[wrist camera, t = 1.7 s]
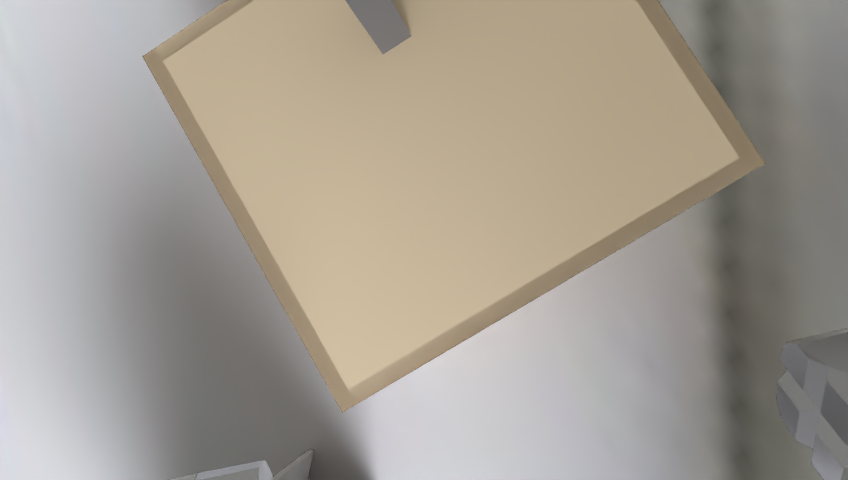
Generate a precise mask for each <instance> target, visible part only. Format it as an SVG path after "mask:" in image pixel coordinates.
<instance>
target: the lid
mask: <svg viewBox="0 0 848 480" xmlns="http://www.w3.org/2000/svg"><path fill="white" fill-rule="evenodd" d="M142 57H143V58H144V60H145V62H146V64H147V65H148V67H149V69H150V71H151V73H152V74H153V76H154V78H155V80H156V82H157V83H158V85H159V87H160V89H161V90H162V92H163V94H164V96H165V98H166V99H167V101H168V103H169V105H170V106H171V108H172V110H173V112H174V114H175V115H176V117H177V119H178V121H179V123H180V124H181V126H182V128H183V130H184V131H185V133H186V135H187V137H188V139H189V140H190V142H191V144H192V146H193V147H194V149H195V151H196V153H197V155H198V156H199V158H200V160H201V162H202V164H203V165H204V167H205V169H206V171H207V172H208V174H209V176H210V178H211V180H212V181H213V183H214V185H215V187H216V188H217V190H218V192H219V194H220V196H221V197H222V199H223V201H224V203H225V205H226V206H227V208H228V210H229V212H230V213H231V215H232V217H233V219H234V221H235V222H236V224H237V226H238V228H239V229H240V231H241V233H242V235H243V237H244V238H245V240H246V242H247V244H248V246H249V247H250V249H251V251H252V253H253V254H254V256H255V258H256V260H257V262H258V263H259V265H260V267H261V269H262V270H263V272H264V274H265V276H266V278H267V279H268V281H269V283H270V285H271V287H272V288H273V290H274V292H275V294H276V295H277V297H278V299H279V301H280V303H281V304H282V306H283V308H284V310H285V311H286V313H287V315H288V317H289V319H290V320H291V322H292V324H293V326H294V328H295V329H296V331H297V333H298V335H299V336H300V338H301V340H302V342H303V344H304V345H305V347H306V349H307V351H308V352H309V354H310V356H311V358H312V360H313V361H314V363H315V365H316V367H317V369H318V370H319V372H320V374H321V376H322V377H323V379H324V381H325V383H326V385H327V386H328V388H329V390H330V392H331V393H332V395H333V397H334V399H335V401H336V402H337V404H338V406H339V408H340V410H341V411H342V413H343V412H344V411H346V410H348V409H349V408H351V407H353V406H354V405H356V404H358V403H360V402H361V401H363V400H365V399H366V398H368V397H370V396H371V395H373V394H375V393H377V392H378V391H380V390H382V389H383V388H385V387H387V386H388V385H390V384H392V383H393V382H395V381H397V380H399V379H400V378H402V377H404V376H405V375H407V374H409V373H410V372H412V371H414V370H416V369H417V368H419V367H421V366H422V365H424V364H426V363H427V362H429V361H431V360H433V359H434V358H436V357H438V356H439V355H441V354H443V353H444V352H446V351H448V350H450V349H451V348H453V347H455V346H456V345H458V344H460V343H461V342H463V341H465V340H467V339H468V338H470V337H472V336H473V335H475V334H477V333H478V332H480V331H482V330H484V329H485V328H487V327H489V326H490V325H492V324H494V323H495V322H497V321H499V320H501V319H502V318H504V317H506V316H507V315H509V314H511V313H512V312H514V311H516V310H517V309H519V308H521V307H523V306H524V305H526V304H528V303H529V302H531V301H533V300H534V299H536V298H538V297H540V296H541V295H543V294H545V293H546V292H548V291H550V290H551V289H553V288H555V287H557V286H558V285H560V284H562V283H563V282H565V281H567V280H568V279H570V278H572V277H574V276H575V275H577V274H579V273H580V272H582V271H584V270H585V269H587V268H589V267H591V266H592V265H594V264H596V263H597V262H599V261H601V260H602V259H604V258H606V257H608V256H609V255H611V254H613V253H614V252H616V251H618V250H619V249H621V248H623V247H625V246H626V245H628V244H630V243H631V242H633V241H635V240H636V239H638V238H640V237H641V236H643V235H645V234H647V233H648V232H650V231H652V230H653V229H655V228H657V227H658V226H660V225H662V224H664V223H665V222H667V221H669V220H670V219H672V218H674V217H675V216H677V215H679V214H681V213H682V212H684V211H686V210H687V209H689V208H691V207H692V206H694V205H696V204H698V203H699V202H701V201H703V200H704V199H706V198H708V197H709V196H711V195H713V194H715V193H716V192H718V191H720V190H721V189H723V188H725V187H726V186H728V185H730V184H732V183H733V182H735V181H737V180H738V179H740V178H742V177H743V176H745V175H747V174H749V173H750V172H752V171H754V170H755V169H757V168H759V167H760V166H762V165H764V164H765V162H764V160H763V159H762V157H761V156H760V154H759V153H758V151H757V150H756V148H755V147H754V145H753V143H752V142H751V140H750V139H749V137H748V136H747V134H746V133H745V131H744V130H743V128H742V127H741V125H740V124H739V122H738V121H737V119H736V118H735V116H734V115H733V113H732V112H731V110H730V109H729V107H728V106H727V104H726V103H725V101H724V100H723V98H722V97H721V95H720V94H719V92H718V91H717V89H716V88H715V86H714V84H713V83H712V81H711V80H710V78H709V77H708V75H707V74H706V72H705V71H704V69H703V68H702V66H701V65H700V63H699V62H698V60H697V59H696V57H695V56H694V54H693V53H692V51H691V50H690V48H689V47H688V45H687V44H686V42H685V41H684V39H683V38H682V36H681V35H680V33H679V32H678V30H677V28H676V27H675V25H674V24H673V22H672V21H671V19H670V18H669V16H668V15H667V13H666V12H665V10H664V9H663V7H662V6H661V4H660V3H659V1H658V0H226V1H225V2H223V3H222V4H220V5H219V6H217V7H216V8H214V9H213V10H211V11H210V12H208V13H207V14H205V15H204V16H202V17H201V18H199V19H198V20H196V21H195V22H193V23H192V24H190V25H189V26H187V27H186V28H184V29H183V30H181V31H180V32H178V33H177V34H175V35H174V36H172V37H171V38H169V39H168V40H166V41H165V42H163V43H162V44H160V45H159V46H157V47H156V48H154V49H153V50H151V51H150V52H148V53H147V54H145V55H144V56H142Z"/></svg>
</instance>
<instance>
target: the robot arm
mask: <svg viewBox="0 0 848 480" xmlns="http://www.w3.org/2000/svg"><path fill="white" fill-rule="evenodd" d="M780 361H781V362H782V364H783V365H784V366H785V367H786V369H787V371H786V372H785V374H784V375H783V376H782V377H781V378H780V379H779V380H778V382H777V393H776V399H777V403H778V407H779V412H780V415H781V417H782V419H783V421H784V423H785V425H786V427H787V429H788V430H789V432H790V433H791V435H792V436H793V438H794V439H795V440H796V441H798V442H800V443H802V444H804V445H806V446H808V447H810V448H812V449H813V455H812V464H813V466H814V467H815V469H816V470H817V471H818V473H819V474H820V476H821V477H822V478H823V480H848V328H844V329H840V330H836V331H832V332H827V333H823V334H819V335H815V336H810V337H806V338H802V339H798V340H793V341H789V342H787V343H786V344H785V346H784V347H783V348H782V354H781V360H780ZM168 480H272V472H271V470H270V468H269V466H268V464H267V462H266V461H263V460H261V461H256V462H251V463H246V464H241V465H236V466H231V467H225V468H220V469H215V470H210V471H205V472H200V473H197V474H192V475H187V476H182V477H178V478H173V479H168Z"/></svg>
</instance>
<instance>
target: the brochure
mask: <svg viewBox="0 0 848 480" xmlns="http://www.w3.org/2000/svg"><path fill="white" fill-rule="evenodd" d="M313 453H314V450H311V449H309V450H307V451H306V452H305V453H304V454H302V455H301V456H300V457H298V458H297V459H296V460H294V461H293V462H292V463H290V464H289V465H288V466H286V467H285V468H284V469H283V470H281V471H280V472H279V473H277V474H276V475H275V476H273V477H272V480H308V475H309V471H310V466H311V462H312V457H313Z"/></svg>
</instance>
